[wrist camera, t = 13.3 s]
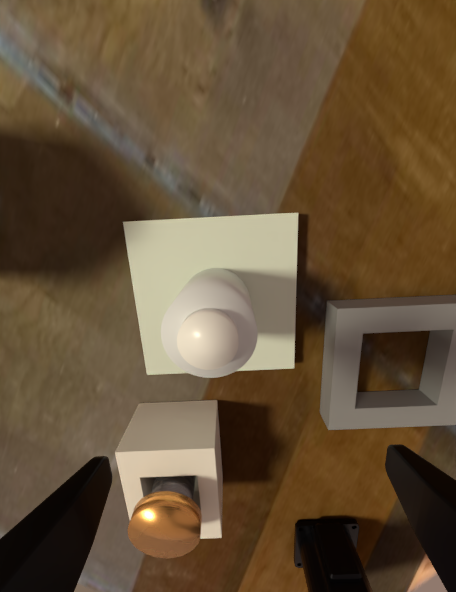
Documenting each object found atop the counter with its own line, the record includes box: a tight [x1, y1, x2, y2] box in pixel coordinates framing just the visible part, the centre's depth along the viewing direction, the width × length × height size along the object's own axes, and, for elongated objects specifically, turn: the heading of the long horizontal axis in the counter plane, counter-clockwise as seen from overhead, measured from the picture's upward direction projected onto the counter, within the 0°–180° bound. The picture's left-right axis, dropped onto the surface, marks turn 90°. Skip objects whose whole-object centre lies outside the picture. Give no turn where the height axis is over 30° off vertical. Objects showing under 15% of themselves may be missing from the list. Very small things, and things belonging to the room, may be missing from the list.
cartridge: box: [161, 268, 258, 378], centre depth 15 cm, size 5×5×7 cm
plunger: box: [128, 475, 202, 558], centre depth 19 cm, size 5×5×6 cm
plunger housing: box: [115, 400, 223, 539], centre depth 21 cm, size 9×7×5 cm
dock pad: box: [123, 213, 298, 375], centre depth 19 cm, size 12×12×1 cm
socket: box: [320, 295, 456, 430], centre depth 20 cm, size 11×11×2 cm
